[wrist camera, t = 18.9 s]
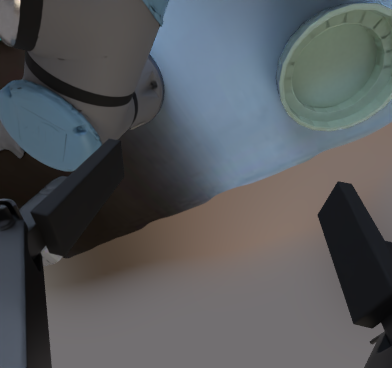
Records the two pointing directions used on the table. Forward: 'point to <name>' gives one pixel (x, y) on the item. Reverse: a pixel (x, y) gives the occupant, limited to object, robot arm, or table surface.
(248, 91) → the table surface
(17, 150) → the cloth
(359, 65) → the bowl
